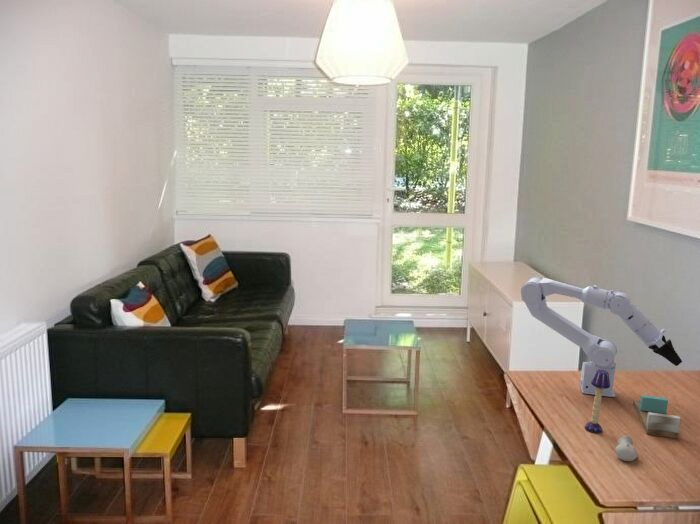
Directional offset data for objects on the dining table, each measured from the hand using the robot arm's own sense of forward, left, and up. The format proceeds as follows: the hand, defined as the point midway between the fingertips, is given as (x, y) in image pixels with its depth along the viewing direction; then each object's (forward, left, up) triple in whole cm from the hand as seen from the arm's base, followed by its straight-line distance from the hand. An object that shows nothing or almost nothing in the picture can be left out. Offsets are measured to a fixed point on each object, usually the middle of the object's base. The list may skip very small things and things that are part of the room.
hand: (676, 361), depth 170 cm
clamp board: (-7, -12, -14) cm, 20 cm away
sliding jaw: (-7, -10, -12) cm, 17 cm away
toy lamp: (-24, -24, -14) cm, 36 cm away
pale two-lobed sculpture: (-18, -36, -14) cm, 42 cm away
